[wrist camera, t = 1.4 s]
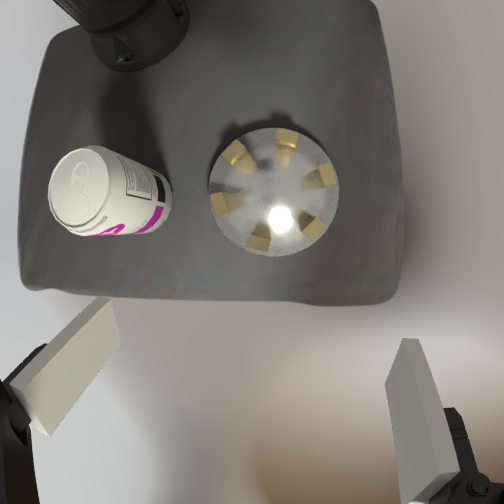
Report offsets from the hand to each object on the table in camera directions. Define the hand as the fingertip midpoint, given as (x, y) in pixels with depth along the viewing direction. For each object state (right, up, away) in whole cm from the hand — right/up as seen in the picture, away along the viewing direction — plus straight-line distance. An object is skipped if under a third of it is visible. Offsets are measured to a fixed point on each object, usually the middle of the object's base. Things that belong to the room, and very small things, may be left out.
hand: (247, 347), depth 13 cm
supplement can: (-13, +11, +26) cm, 31 cm away
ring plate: (+3, +11, +24) cm, 26 cm away
